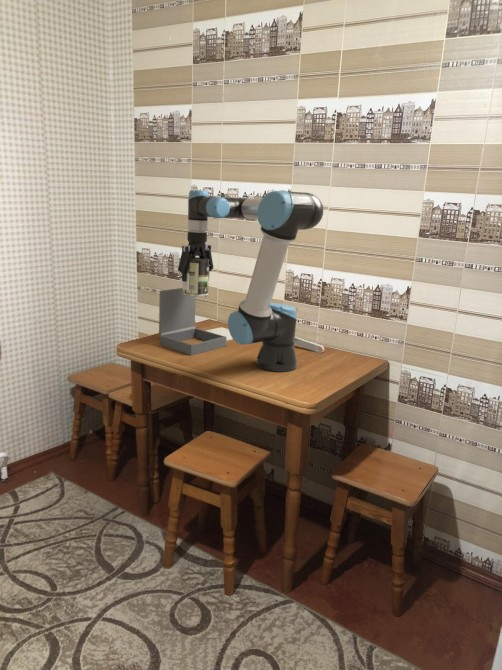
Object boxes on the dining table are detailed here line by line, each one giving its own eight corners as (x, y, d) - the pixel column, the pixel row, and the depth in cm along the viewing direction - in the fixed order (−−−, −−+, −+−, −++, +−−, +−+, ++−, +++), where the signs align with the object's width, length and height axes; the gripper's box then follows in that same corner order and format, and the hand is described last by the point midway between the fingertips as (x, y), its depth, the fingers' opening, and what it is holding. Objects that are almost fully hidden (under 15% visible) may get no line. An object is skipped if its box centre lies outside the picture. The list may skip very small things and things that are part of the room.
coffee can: (206, 291, 217) (207, 257, 213) (209, 296, 207) (211, 260, 204) (181, 291, 215) (181, 256, 211) (183, 296, 205) (184, 259, 201)
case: (226, 346, 218) (228, 293, 213) (191, 355, 203) (193, 299, 198) (193, 336, 230) (194, 286, 224) (157, 344, 215) (158, 290, 209)
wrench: (320, 360, 218) (259, 338, 232) (322, 359, 219) (261, 337, 233) (324, 341, 215) (262, 320, 229) (326, 341, 217) (264, 320, 231)
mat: (247, 335, 237) (247, 334, 236) (223, 341, 224) (223, 340, 224) (221, 328, 246) (221, 327, 246) (196, 333, 234) (196, 332, 234)
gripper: (210, 230, 215) (208, 284, 221) (168, 231, 198) (167, 289, 204) (224, 231, 211) (221, 287, 217) (182, 232, 194) (181, 292, 199)
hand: (195, 288), depth 210 cm, fingers closed on coffee can, 10 cm apart
